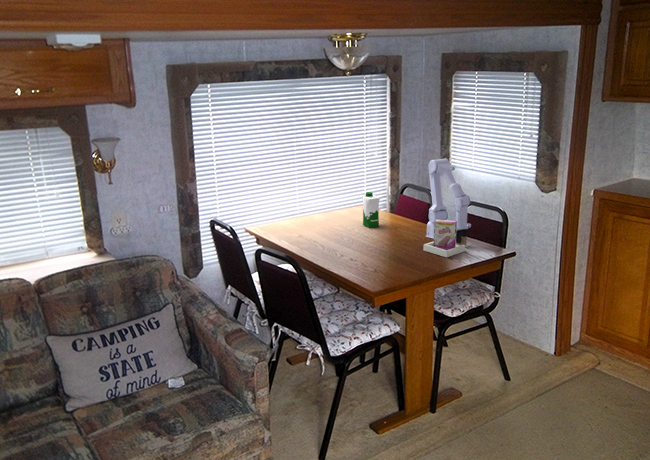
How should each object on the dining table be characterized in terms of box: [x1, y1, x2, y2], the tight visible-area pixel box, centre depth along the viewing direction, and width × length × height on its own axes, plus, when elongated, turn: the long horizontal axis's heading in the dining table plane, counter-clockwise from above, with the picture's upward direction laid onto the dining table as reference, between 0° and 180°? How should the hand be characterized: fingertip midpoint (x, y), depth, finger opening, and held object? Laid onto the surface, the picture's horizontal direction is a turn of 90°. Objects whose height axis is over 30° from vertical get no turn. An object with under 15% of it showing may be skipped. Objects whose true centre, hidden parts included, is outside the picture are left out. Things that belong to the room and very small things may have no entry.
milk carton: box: [362, 191, 381, 229], centre depth 358 cm, size 9×9×20 cm
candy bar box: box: [433, 219, 457, 250], centre depth 311 cm, size 11×5×16 cm, turn 74°
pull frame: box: [423, 236, 471, 258], centre depth 315 cm, size 15×25×5 cm, turn 130°
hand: (460, 242), depth 321 cm, fingers closed on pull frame, 2 cm apart
